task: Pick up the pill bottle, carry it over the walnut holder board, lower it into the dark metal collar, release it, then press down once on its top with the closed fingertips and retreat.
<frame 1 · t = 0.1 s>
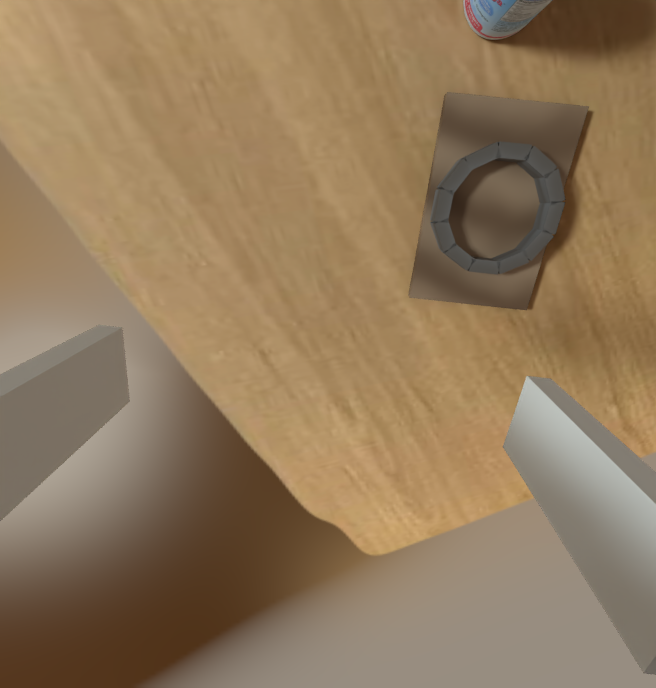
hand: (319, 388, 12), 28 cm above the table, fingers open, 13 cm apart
holder: (487, 210, 36), on the table
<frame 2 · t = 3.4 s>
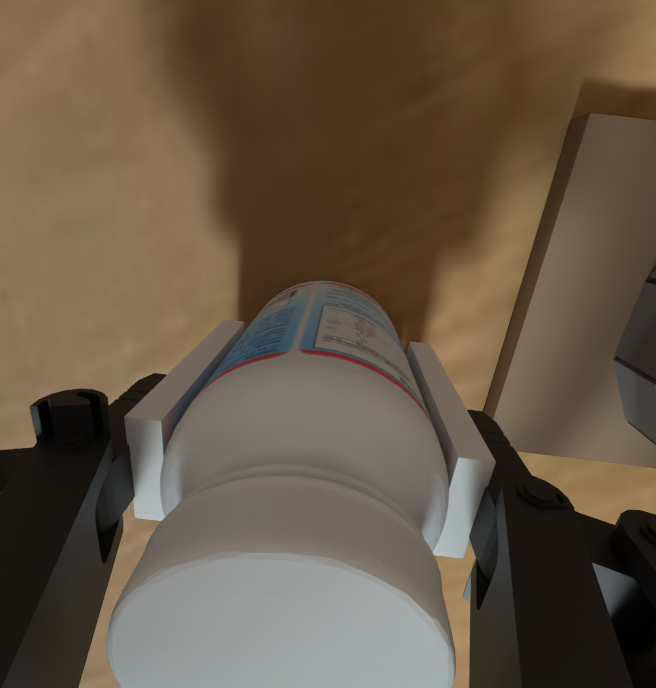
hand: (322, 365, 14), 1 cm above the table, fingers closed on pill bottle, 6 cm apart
pill bottle: (325, 349, 15), on the table, touching gripper
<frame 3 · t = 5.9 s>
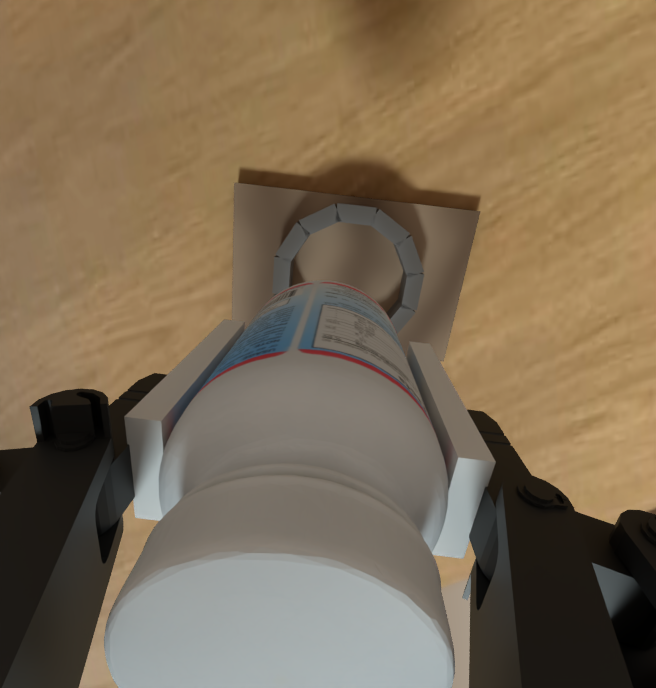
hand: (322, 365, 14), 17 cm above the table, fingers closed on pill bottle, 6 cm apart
pill bottle: (325, 348, 15), point 16 cm above the table, touching gripper
holder: (346, 276, 30), on the table
when the fingers open (4 cm above the table, at t = 8.3 s): pill bottle drops 2 cm, resting on holder.
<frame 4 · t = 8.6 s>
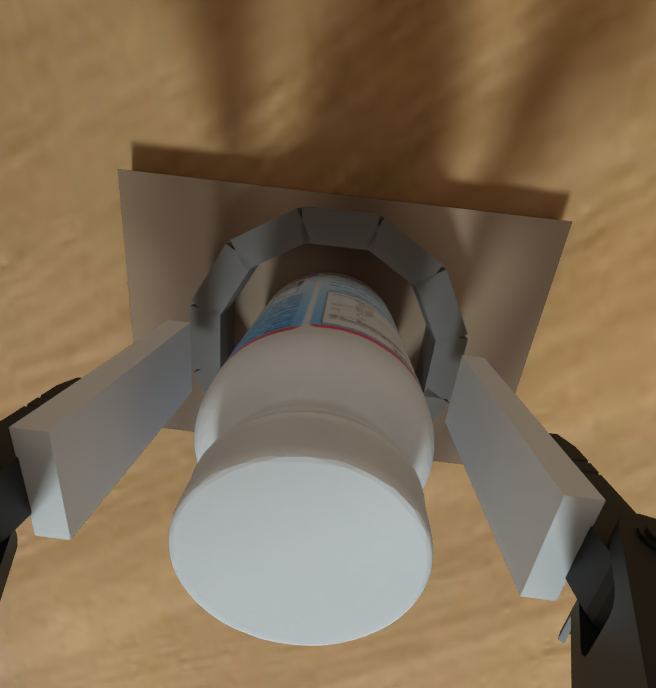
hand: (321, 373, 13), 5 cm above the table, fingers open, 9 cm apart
pill bottle: (329, 335, 17), point 1 cm above the table, touching holder
holder: (328, 329, 18), on the table
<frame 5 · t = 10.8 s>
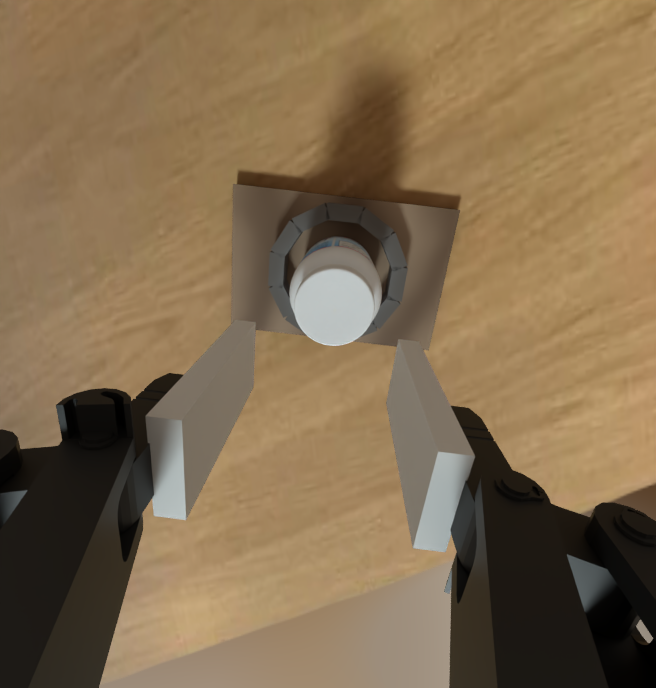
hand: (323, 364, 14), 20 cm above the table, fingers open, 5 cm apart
pill bottle: (338, 272, 32), point 1 cm above the table, touching holder
holder: (337, 270, 32), on the table
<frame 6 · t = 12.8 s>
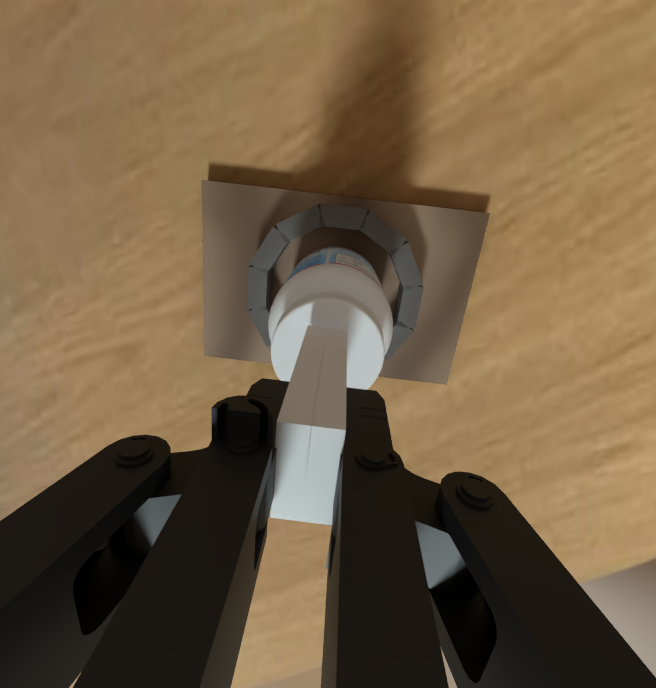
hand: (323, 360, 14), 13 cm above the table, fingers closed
pill bottle: (335, 290, 26), point 1 cm above the table, touching holder
holder: (334, 287, 26), on the table
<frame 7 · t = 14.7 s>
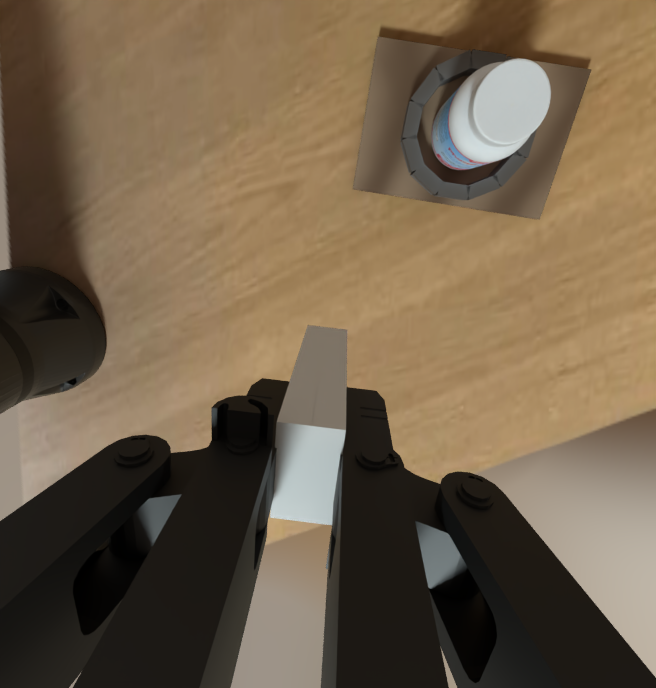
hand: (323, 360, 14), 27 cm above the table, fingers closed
pill bottle: (463, 133, 34), point 1 cm above the table, touching holder
holder: (460, 135, 34), on the table
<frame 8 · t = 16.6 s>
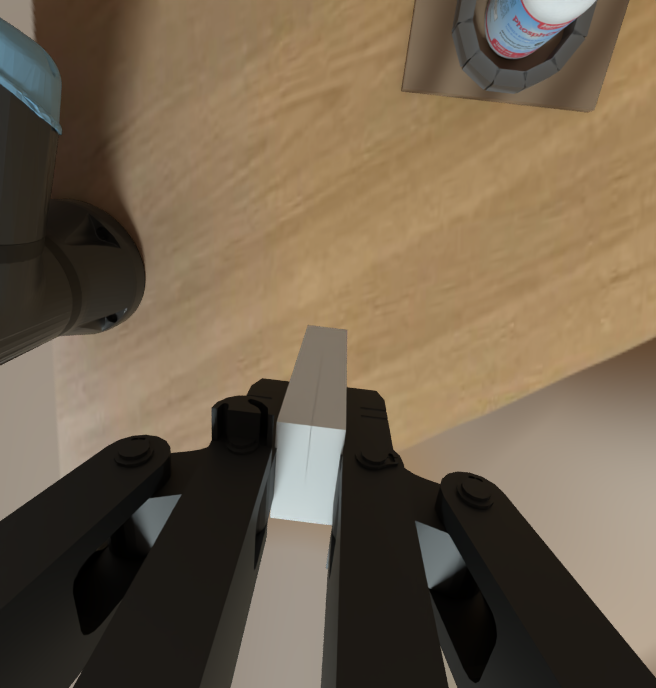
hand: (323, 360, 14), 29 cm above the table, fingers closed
pill bottle: (516, 20, 33), point 1 cm above the table, touching holder
holder: (512, 24, 34), on the table
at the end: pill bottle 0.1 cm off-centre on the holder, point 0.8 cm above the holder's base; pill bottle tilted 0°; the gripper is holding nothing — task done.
